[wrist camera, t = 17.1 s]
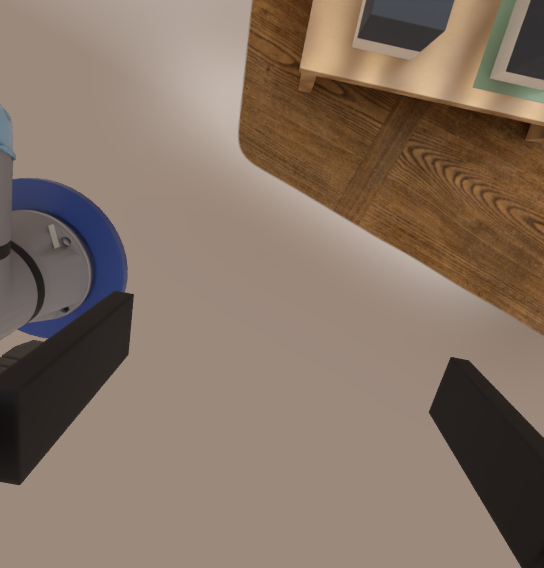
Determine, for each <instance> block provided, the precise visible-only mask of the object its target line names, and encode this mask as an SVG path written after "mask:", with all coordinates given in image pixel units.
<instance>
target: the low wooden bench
mask: <svg viewBox="0 0 544 568" xmlns="http://www.w3.org/2000/svg"><path fill="white" fill-rule="evenodd" d="M362 1H363V0H313V3H312V8H311V13H310V18H309V23H308V28H307V33H306V38H305V43H304V48H303V53H302V59H301V64H300V69H299V72H301V78H300V83H299V88H298V91H301V92H306V93H311V90H312V87H313V85H314V82H315V79H316V76H319V77H323V78H328V79H332V80H337V81H341V82H346V83H350V84H355V85H359V86H364V87H368V88H373V89H377V90H382V91H387V92H391V93H396V94H400V95H405V96H409V97H414V98H418V99H423V100H427V101H432V102H436V103H441V104H445V105H450V106H454V107H459V108H463V109H468V110H472V111H477V112H482V113H486V114H491V115H495V116H500V117H504V118H509V119H513V120H518V121H522V122H527V123H531V125H530V128H529V131H528V133H527V136H526V138H525V141H529V142H534V143H541V142H544V91H543V90H538V89H534V88H529V87H525V86H520V85H516V84H512V83H507V82H503V81H498V80H494V79H490V75H491V72H492V70H493V67H494V64H495V61H496V58H497V55H498V52H499V49H500V46H501V43H502V40H503V37H504V35H505V32H506V29H507V26H508V23H509V20H510V17H511V14H512V11H513V8H514V5H515V2H516V0H454V4H453V7H452V10H451V14H450V17H449V20H448V24H447V27H446V30H445V32H443V33H442V34H441V35H440V36H439V37H437V38H436V39H435V40H434V41H433V42H432V43H430V44H429V45H428V46H427V47H426V48H425V49H423V50H422V51H421V52H420V53H419V54H417V55H416V56H415V57H414V58H413V59H411V60H406V59H401V58H397V57H392V56H388V55H383V54H379V53H375V52H370V51H366V50H361V49H357V48H353V47H352V44H353V40H354V36H355V31H356V27H357V23H358V19H359V14H360V10H361V6H362Z"/></svg>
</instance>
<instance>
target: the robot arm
mask: <svg viewBox="0 0 544 568" xmlns="http://www.w3.org/2000/svg"><path fill="white" fill-rule="evenodd" d="M12 133H13V132H12V121H11V118H10V116H9V114H8V113H7V111H6V110H5V109H4V108H3V107H2V106H1V105H0V340H1V339H3V338H4V337H6V336H7V335H9V334H10V333H12V332H14V331H15V330H17V329H18V328H20V327H22V326H23V325H25V324H27V323H31V322H37V321H44V320H51V319H57V318H60V317H63V316H65V315H67V314H69V313H71V312H72V311H74V310H75V309H77V308H78V307H80V306H81V305H82V304H83V303H84V302H85V301H86V300H87V299H88V297H89V296H90V294H91V292H92V290H93V287H94V284H95V278H96V267H95V261H94V257H93V254H92V251H91V249H90V247H89V245H88V243H87V242H86V240H85V239H84V237H83V236H82V235H81V233H80V232H79V231H78V230H77V229H76V228H75V227H74V226H73V225H71V224H70V223H69V222H68V221H66V220H65V219H63V218H61V217H60V216H58V215H55V214H53V213H51V212H48V211H44V210H39V209H22V210H15V211H12V176H13V171H12V170H13V160H16V155H15V153H14V152H13V134H12ZM133 297H134V294H130V293H125V292H120V291H113V292H112V293H111V294H109V295H108V296H106V297H105V298H104V299H102V300H101V301H100V302H98V303H97V304H95V305H94V306H93V307H91V308H90V309H89V310H87V311H86V312H84V313H83V314H82V315H80V316H79V317H78V318H76V319H75V320H73V321H72V322H71V323H69V324H68V325H66V326H65V327H64V328H62V329H61V330H60V331H58V332H57V333H55V334H54V335H53V336H51V337H50V338H49V339H47V340H46V341H45V342H41V341H37V340H32V341H29V342H27V343H23V344H21V345H18V346H15V347H14V348H12V349H11V350H9V351H8V352H6V353H5V354H4V355H2V357H0V482H4V483H10V484H16V485H20V484H21V483H22V482H23V481H24V480H25V478H26V477H27V476H28V475H29V474H30V473H31V471H32V470H33V469H34V468H35V467H36V465H37V464H38V463H39V462H40V460H41V459H42V458H43V457H44V456H45V454H46V453H47V452H48V451H49V450H50V448H51V447H52V446H53V445H54V444H55V442H56V441H57V440H58V439H59V438H60V436H61V435H62V434H63V433H64V432H65V430H66V429H67V428H68V426H70V424H71V423H72V422H73V421H74V420H75V418H76V417H77V416H78V415H79V413H80V412H81V411H82V410H83V408H85V406H86V405H87V404H88V403H89V401H90V400H91V399H92V398H93V397H94V395H95V394H96V393H97V392H98V391H99V389H100V388H101V387H102V386H103V384H104V383H105V382H106V381H107V380H108V379H109V377H110V376H111V375H112V374H113V372H114V371H115V370H116V369H117V368H118V366H119V365H120V364H121V363H122V362H123V360H124V359H125V358H126V357H127V356H128V353H129V342H130V330H131V319H132V308H133ZM429 413H430V415H431V417H432V418H433V420H434V422H435V423H436V425H437V427H438V429H439V430H440V432H441V433H442V435H443V437H444V438H445V440H446V442H447V444H448V445H449V447H450V449H451V450H452V452H453V454H454V455H455V457H456V459H457V460H458V462H459V464H460V465H461V467H462V469H463V470H464V472H465V474H466V475H467V477H468V479H469V480H470V482H471V484H472V486H473V487H474V489H475V491H476V492H477V494H478V495H479V497H480V499H481V501H482V502H483V504H484V506H485V507H486V509H487V510H488V512H489V514H490V516H491V517H492V519H493V521H494V522H495V524H496V526H497V527H498V529H499V531H500V532H501V534H502V536H503V537H504V539H505V541H506V542H507V544H508V546H509V547H510V549H511V551H512V552H513V554H514V556H515V557H516V559H517V561H518V563H519V564H520V566H521V567H522V568H544V438H543V437H542V436H541V435H540V434H539V433H538V432H537V431H536V430H535V429H534V427H532V425H531V424H530V423H529V422H528V421H527V420H526V419H525V418H524V417H523V416H522V415H521V414H520V413H519V412H518V411H517V410H516V409H515V408H514V407H513V406H512V405H511V404H510V403H509V402H508V401H507V400H506V399H505V398H504V396H503V395H502V394H501V393H500V392H499V391H498V390H497V389H496V388H495V387H494V386H493V385H492V384H491V383H490V382H489V381H488V380H487V379H486V378H485V377H484V376H483V375H482V374H481V373H480V372H479V371H478V370H477V369H476V367H474V365H473V364H472V363H471V362H470V361H469V360H463V359H459V358H454V357H451V358H450V360H449V363H448V365H447V368H446V370H445V373H444V375H443V378H442V380H441V383H440V385H439V388H438V390H437V393H436V395H435V398H434V400H433V403H432V406H431V408H430V411H429Z"/></svg>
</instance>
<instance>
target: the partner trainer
mask: <svg viewBox="0 0 544 568" xmlns="http://www.w3.org/2000/svg"><path fill="white" fill-rule="evenodd" d="M453 4H454V0H363V1H362V6H361V10H360V14H359V19H358V23H357V27H356V31H355V36H354V40H353V44H352V47H353V48H357V49H361V50H366V51H370V52H375V53H379V54H383V55H388V56H392V57H397V58H401V59H406V60H411V59H413V58H414V57H415V56H416V55H417V54H419V53H420V52H421V51H422V50H423V49H425V48H426V47H427V46H428V45H429V44H430V43H432V42H433V41H434V40H435V39H436V38H437V37H439V36H440V35H441V34H442V33H443V32H445V30H446V27H447V24H448V20H449V17H450V14H451V10H452V7H453Z"/></svg>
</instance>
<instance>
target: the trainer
mask: <svg viewBox="0 0 544 568" xmlns="http://www.w3.org/2000/svg"><path fill="white" fill-rule="evenodd" d="M490 79H494V80H498V81H503V82H507V83H512V84H516V85H520V86H525V87H529V88H534V89H538V90H543V91H544V0H516V2H515V5H514V8H513V11H512V14H511V17H510V20H509V23H508V26H507V29H506V32H505V35H504V37H503V40H502V43H501V46H500V49H499V52H498V55H497V58H496V61H495V64H494V67H493V70H492V72H491V75H490Z"/></svg>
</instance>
